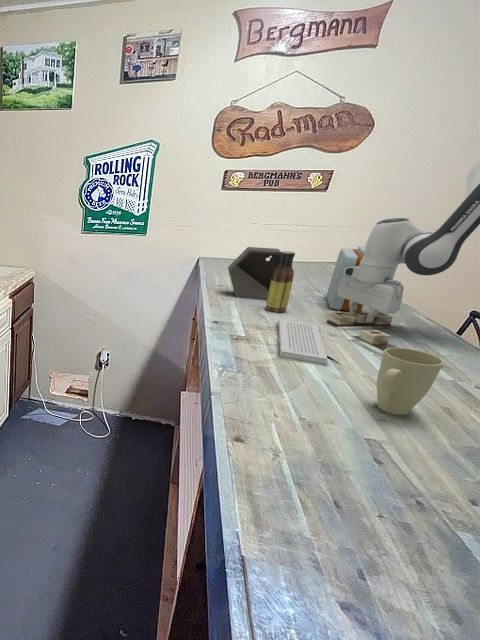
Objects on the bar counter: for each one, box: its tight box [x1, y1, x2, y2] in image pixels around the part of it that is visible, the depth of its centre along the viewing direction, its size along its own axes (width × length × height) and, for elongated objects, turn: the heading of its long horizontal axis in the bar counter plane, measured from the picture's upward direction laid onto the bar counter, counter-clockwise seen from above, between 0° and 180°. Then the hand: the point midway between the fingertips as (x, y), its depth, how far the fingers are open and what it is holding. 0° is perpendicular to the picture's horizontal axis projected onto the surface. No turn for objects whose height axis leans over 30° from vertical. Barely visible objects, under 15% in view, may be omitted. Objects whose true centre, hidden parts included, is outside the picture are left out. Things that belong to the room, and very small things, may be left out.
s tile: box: [347, 310, 373, 323], centre depth 142 cm, size 5×5×3 cm
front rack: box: [351, 329, 399, 352], centre depth 123 cm, size 6×16×4 cm, turn 3°
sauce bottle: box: [265, 250, 296, 313], centre depth 153 cm, size 6×6×20 cm
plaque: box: [277, 318, 328, 365], centre depth 129 cm, size 30×2×10 cm
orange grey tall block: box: [326, 245, 365, 312], centre depth 159 cm, size 18×9×21 cm, turn 150°
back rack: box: [326, 311, 394, 328], centre depth 142 cm, size 17×6×4 cm, turn 93°
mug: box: [376, 347, 445, 416], centre depth 91 cm, size 11×10×12 cm
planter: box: [227, 246, 282, 300], centre depth 170 cm, size 17×8×21 cm
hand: (360, 318), depth 142 cm, fingers closed on s tile, 4 cm apart
